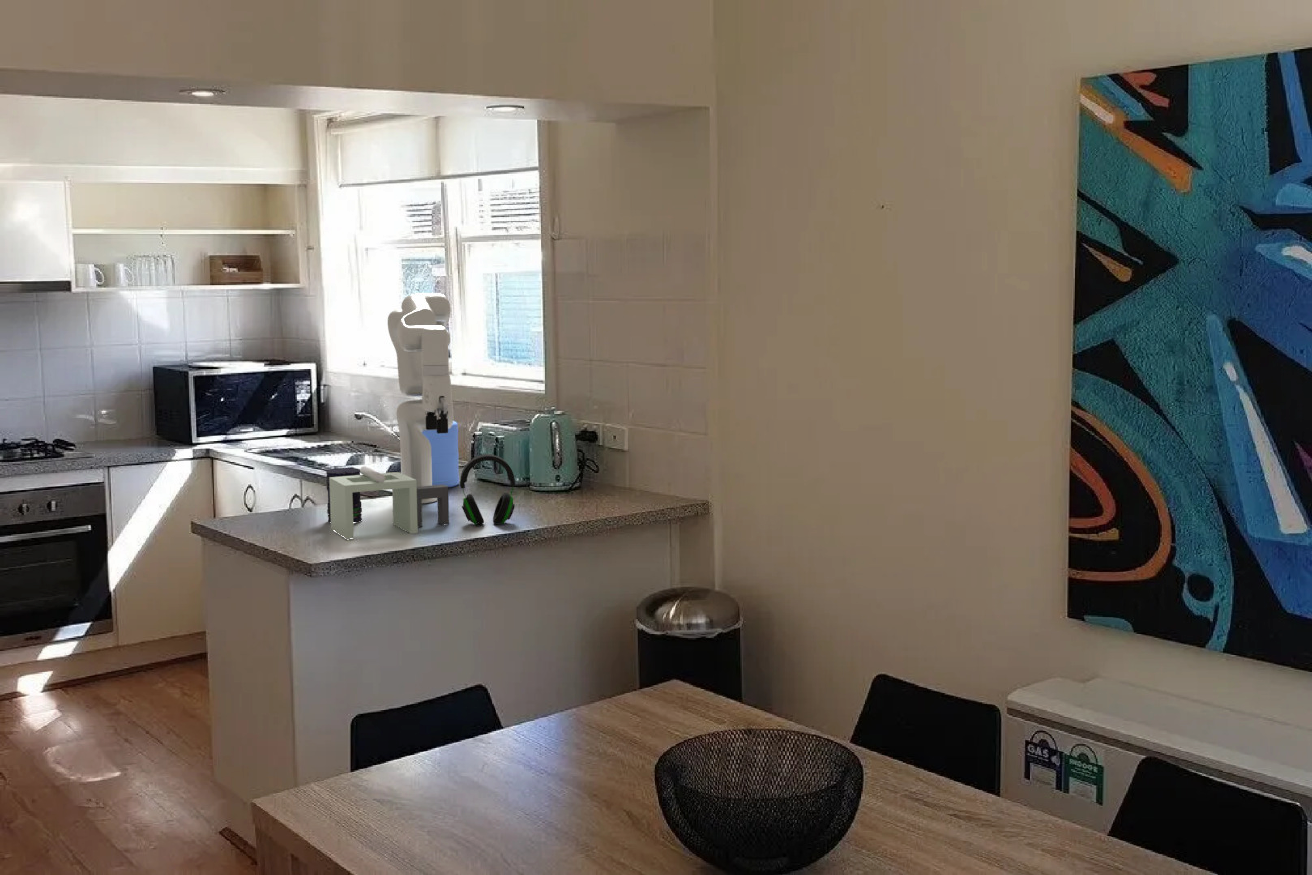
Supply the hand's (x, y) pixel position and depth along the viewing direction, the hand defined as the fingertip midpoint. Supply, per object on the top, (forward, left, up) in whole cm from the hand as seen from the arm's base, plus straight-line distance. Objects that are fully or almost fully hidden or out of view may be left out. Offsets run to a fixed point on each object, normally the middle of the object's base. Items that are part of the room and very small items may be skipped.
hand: (436, 431), depth 399 cm
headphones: (+7, +12, -27) cm, 31 cm away
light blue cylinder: (-65, +21, -27) cm, 73 cm away
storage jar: (-17, -23, -27) cm, 39 cm away
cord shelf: (+2, -20, -27) cm, 33 cm away
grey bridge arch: (0, -3, -27) cm, 27 cm away
